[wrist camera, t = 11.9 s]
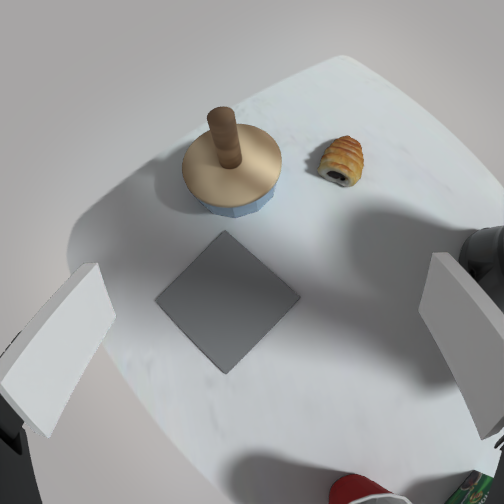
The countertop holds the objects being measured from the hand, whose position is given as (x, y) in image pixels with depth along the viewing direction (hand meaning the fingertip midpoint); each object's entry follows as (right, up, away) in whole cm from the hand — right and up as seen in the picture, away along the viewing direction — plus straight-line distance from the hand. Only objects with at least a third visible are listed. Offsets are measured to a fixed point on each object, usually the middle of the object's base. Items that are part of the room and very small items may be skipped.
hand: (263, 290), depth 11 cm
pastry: (+14, +15, +35) cm, 40 cm away
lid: (-3, +14, +30) cm, 33 cm away
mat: (-4, -5, +29) cm, 29 cm away
